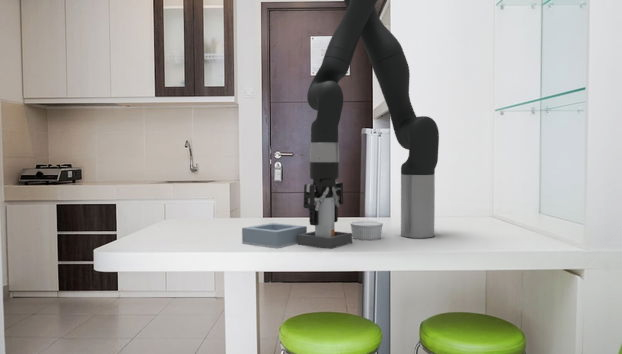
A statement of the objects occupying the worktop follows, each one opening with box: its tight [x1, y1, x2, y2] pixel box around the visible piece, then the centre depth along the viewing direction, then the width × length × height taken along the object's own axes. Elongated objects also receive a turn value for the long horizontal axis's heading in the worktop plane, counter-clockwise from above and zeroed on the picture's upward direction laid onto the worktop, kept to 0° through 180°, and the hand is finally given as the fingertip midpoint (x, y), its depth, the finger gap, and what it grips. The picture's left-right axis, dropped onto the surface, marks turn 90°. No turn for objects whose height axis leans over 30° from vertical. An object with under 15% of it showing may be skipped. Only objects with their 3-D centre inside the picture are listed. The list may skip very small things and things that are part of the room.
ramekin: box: [350, 220, 384, 241], centre depth 140 cm, size 9×9×4 cm
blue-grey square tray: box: [241, 222, 308, 249], centre depth 134 cm, size 12×12×4 cm
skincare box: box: [314, 197, 336, 238], centre depth 131 cm, size 6×4×12 cm
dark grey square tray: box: [297, 230, 353, 249], centre depth 131 cm, size 10×10×2 cm
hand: (324, 223), depth 131 cm, fingers open, 8 cm apart
